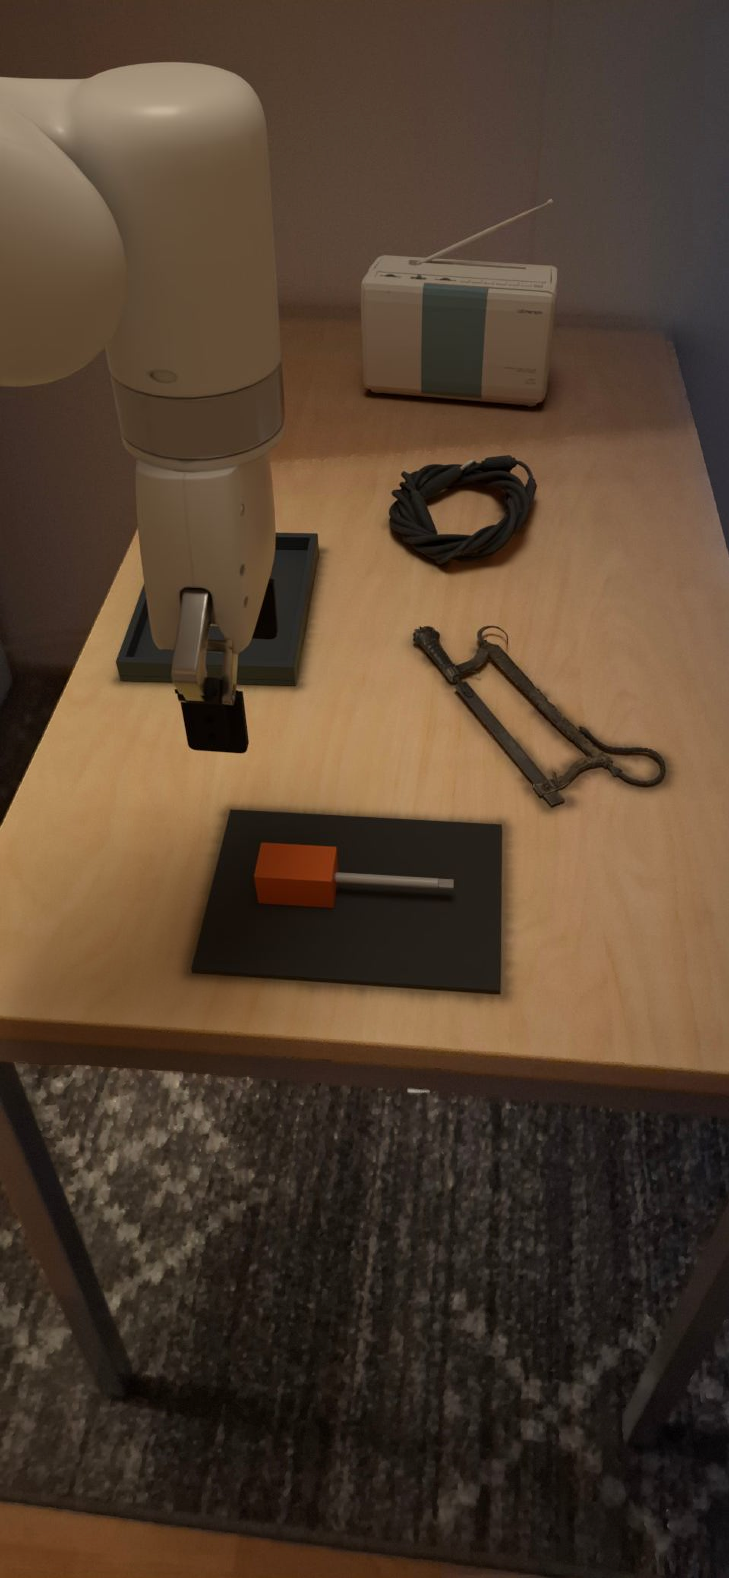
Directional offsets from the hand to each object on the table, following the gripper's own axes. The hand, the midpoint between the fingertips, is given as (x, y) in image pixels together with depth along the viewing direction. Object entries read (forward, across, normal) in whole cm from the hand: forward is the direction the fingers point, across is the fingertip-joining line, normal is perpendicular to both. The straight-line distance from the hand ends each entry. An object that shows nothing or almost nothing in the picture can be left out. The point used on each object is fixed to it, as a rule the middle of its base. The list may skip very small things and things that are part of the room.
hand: (236, 688), depth 59 cm
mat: (+18, 0, +7) cm, 19 cm away
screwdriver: (+18, 0, +7) cm, 19 cm away
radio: (+17, -74, +10) cm, 77 cm away
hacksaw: (+18, -21, +19) cm, 33 cm away
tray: (+18, -31, -8) cm, 37 cm away
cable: (+18, -46, +12) cm, 51 cm away
